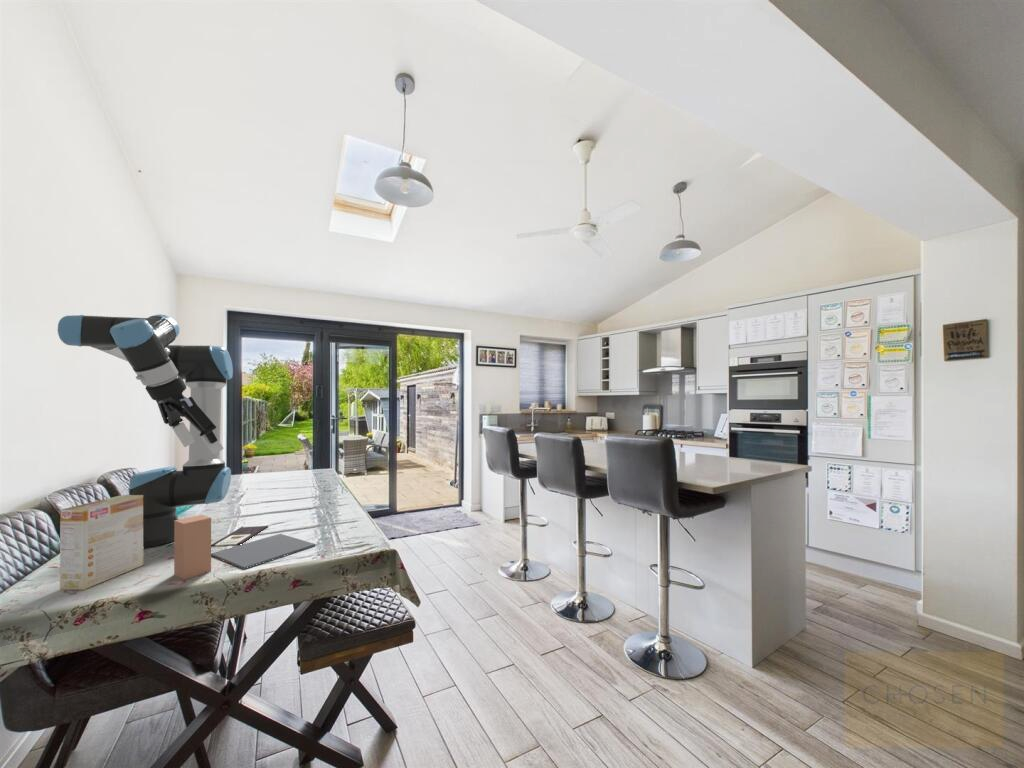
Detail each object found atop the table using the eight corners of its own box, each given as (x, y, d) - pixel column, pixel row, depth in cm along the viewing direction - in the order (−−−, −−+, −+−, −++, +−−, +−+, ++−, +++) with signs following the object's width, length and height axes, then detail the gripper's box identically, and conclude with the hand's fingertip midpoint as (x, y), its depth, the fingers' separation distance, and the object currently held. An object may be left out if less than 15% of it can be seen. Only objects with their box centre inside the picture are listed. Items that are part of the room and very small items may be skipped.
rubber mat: (210, 555, 121) (210, 553, 121) (280, 535, 138) (280, 533, 138) (244, 569, 110) (244, 567, 110) (315, 545, 127) (315, 543, 127)
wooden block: (174, 574, 108) (174, 520, 108) (201, 566, 113) (201, 514, 113) (183, 579, 104) (183, 523, 105) (211, 571, 110) (211, 517, 110)
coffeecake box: (121, 564, 115) (122, 494, 116) (144, 565, 115) (145, 494, 115) (57, 589, 100) (58, 508, 101) (83, 590, 100) (84, 509, 100)
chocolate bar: (268, 525, 147) (241, 543, 129) (268, 528, 147) (241, 546, 129) (241, 527, 146) (210, 545, 128) (241, 530, 146) (210, 548, 128)
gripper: (120, 383, 107) (164, 448, 117) (173, 392, 96) (217, 463, 106) (152, 370, 113) (191, 433, 122) (205, 377, 102) (243, 446, 112)
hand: (203, 447), depth 114 cm, fingers open, 13 cm apart
